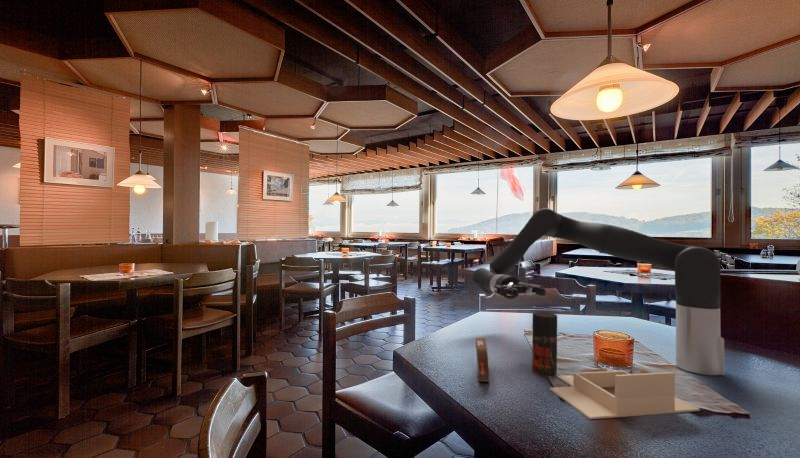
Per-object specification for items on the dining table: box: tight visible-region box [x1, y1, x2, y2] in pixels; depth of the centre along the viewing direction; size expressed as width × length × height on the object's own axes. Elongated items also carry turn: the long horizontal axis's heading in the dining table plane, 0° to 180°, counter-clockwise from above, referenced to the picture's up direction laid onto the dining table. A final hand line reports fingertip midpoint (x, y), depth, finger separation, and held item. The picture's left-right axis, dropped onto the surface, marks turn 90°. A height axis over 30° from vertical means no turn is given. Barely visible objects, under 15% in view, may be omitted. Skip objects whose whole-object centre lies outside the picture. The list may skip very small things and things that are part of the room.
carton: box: [549, 369, 701, 420], centre depth 79 cm, size 19×25×8 cm
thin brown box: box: [475, 337, 490, 383], centre depth 89 cm, size 15×3×8 cm, turn 168°
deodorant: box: [531, 311, 558, 378], centre depth 91 cm, size 6×6×15 cm
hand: (530, 292), depth 102 cm, fingers open, 8 cm apart
